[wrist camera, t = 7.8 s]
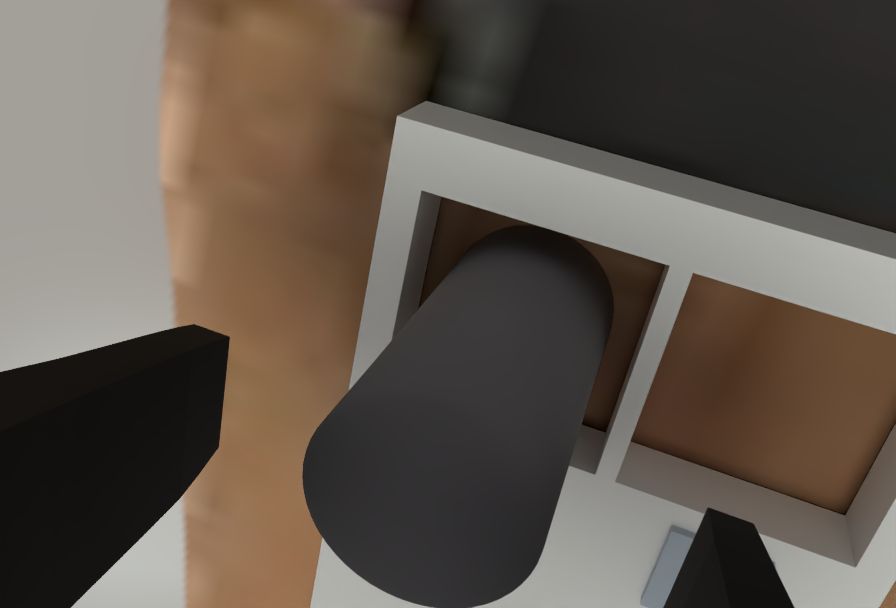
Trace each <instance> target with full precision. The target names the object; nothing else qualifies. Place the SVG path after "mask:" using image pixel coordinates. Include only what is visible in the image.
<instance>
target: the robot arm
mask: <svg viewBox="0 0 896 608" xmlns="http://www.w3.org/2000/svg"><path fill="white" fill-rule="evenodd" d="M229 340H230V337H228V336H226V335H223V334H220V333H217V332H214V331H212V330H209V329H206V328H203V327H200V326H198V325H195V324H193V325H188V326H182V327H177V328H173V329H169V330H164V331H161V332H157V333H153V334H149V335H145V336H141V337H138V338H134V339H131V340H127V341H123V342H119V343H116V344H112V345H108V346H104V347H101V348H97V349H93V350H89V351H86V352H82V353H78V354H75V355H71V356H67V357H63V358H59V359H55V360H51V361H47V362H42V363H38V364H34V365H29V366H25V367H21V368H16V369H12V370H8V371H3V372H0V608H71V607H72V606H73V605H74V604H75V603H76V601H78V599H80V598H81V597H82V596H83V595H84V594H85V593H86V592H87V590H89V589H90V588H91V586H93V585H94V584H95V583H96V582H97V581H98V580H99V579H100V578H101V577H102V576H103V575H104V574H105V573H106V572H107V571H108V570H109V569H110V568H111V567H112V566H113V565H114V564H115V563H116V562H117V561H118V560H119V559H120V558H121V557H122V556H123V555H124V554H125V553H126V552H127V551H128V550H129V549H130V548H131V547H132V546H133V545H134V544H135V543H136V542H137V541H138V540H139V539H140V538H141V537H142V536H143V535H144V534H145V533H146V532H147V531H148V530H149V529H150V528H151V527H152V526H153V525H154V524H155V523H156V522H157V521H158V520H159V519H160V518H161V517H162V516H163V515H164V514H165V513H166V512H167V511H168V510H169V509H170V508H171V507H172V506H173V505H174V504H175V503H176V502H177V501H178V500H179V499H180V498H181V496H182V495H183V494H184V493H185V491H186V490H187V489H188V487H189V486H190V485H191V484H192V482H193V481H194V480H195V479H196V477H197V476H198V475H199V473H200V472H201V471H202V469H203V468H204V467H205V465H206V464H207V462H208V461H209V460H210V458H211V457H212V456H213V454H214V453H215V452H216V450H217V449H218V447H219V440H220V430H221V420H222V410H223V400H224V390H225V380H226V370H227V360H228V350H229ZM663 608H795V607H794V605H793V603H792V601H791V599H790V597H789V595H788V593H787V591H786V589H785V587H784V585H783V583H782V581H781V579H780V577H779V575H778V573H777V570H776V568H775V566H774V564H773V562H772V560H771V558H770V556H769V554H768V552H767V549H766V547H765V545H764V543H763V541H762V539H761V537H760V535H759V533H758V531H757V529H756V527H755V525H754V523H751V522H748V521H746V520H743V519H740V518H737V517H734V516H731V515H729V514H726V513H723V512H720V511H717V510H715V509H712V508H709V507H708V508H707V510H706V512H705V515H704V517H703V519H702V521H701V524H700V526H699V528H698V530H697V533H696V535H695V537H694V539H693V542H692V544H691V546H690V548H689V551H688V553H687V555H686V557H685V560H684V562H683V564H682V566H681V569H680V571H679V573H678V575H677V578H676V580H675V582H674V585H673V587H672V589H671V591H670V594H669V596H668V598H667V600H666V603H665V605H664V607H663Z"/></svg>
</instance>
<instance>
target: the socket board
mask: <svg viewBox="0 0 896 608" xmlns="http://www.w3.org/2000/svg"><path fill="white" fill-rule="evenodd" d="M441 197H445V198H448V199H451V200H455V201H458V202H461V203H465V204H468V205H471V206H474V207H478V208H481V209H484V210H488V211H491V212H494V213H498V214H501V215H504V216H507V217H511V218H514V219H517V220H521V221H524V222H527V223H530V224H534V225H537V226H540V227H544V228H547V229H550V230H553V231H557V232H560V233H563V234H567V235H570V236H573V237H577V238H580V239H583V240H586V241H590V242H593V243H596V244H600V245H603V246H606V247H609V248H613V249H616V250H619V251H623V252H626V253H629V254H632V255H636V256H639V257H642V258H646V259H649V260H652V261H656V262H659V263H662V264H665V267H664V270H663V273H662V276H661V279H660V281H659V284H658V287H657V290H656V293H655V295H654V298H653V301H652V304H651V307H650V310H649V312H648V315H647V318H646V321H645V324H644V327H643V329H642V332H641V335H640V338H639V341H638V343H637V346H636V349H635V352H634V355H633V358H632V360H631V363H630V366H629V369H628V372H627V374H626V377H625V380H624V383H623V386H622V389H621V391H620V394H619V397H618V400H617V403H616V406H615V408H614V411H613V414H612V417H611V420H610V422H609V425H608V428H607V431H606V433H605V432H602V431H599V430H596V429H593V428H590V427H587V426H585V425H581V428H580V431H579V434H578V438H577V441H576V444H575V448H574V451H573V454H572V457H571V461H570V464H569V467H568V470H567V474H566V477H565V480H564V484H563V487H562V490H561V493H560V497H559V500H558V503H557V507H556V510H555V513H554V516H553V520H552V523H551V526H550V529H549V533H548V536H547V539H546V543H545V546H544V549H543V552H542V554H541V557H540V559H539V562H538V564H537V565H536V567H535V569H534V570H533V572H532V573H531V575H530V576H529V577H528V578H527V579H526V580H525V581H524V582H523V584H522V585H520V586H519V587H518V588H517V589H515V590H514V591H513V592H511V593H510V594H508V595H506V596H504V597H503V598H501V599H499V600H496V601H494V602H491V603H488V604H485V605H481V606H477V607H472V608H663V607H664V605H665V603H666V600H667V598H668V596H669V594H670V591H671V589H672V587H673V585H674V582H675V580H676V578H677V575H678V573H679V571H680V569H681V566H682V564H683V562H684V560H685V557H686V555H687V553H688V551H689V548H690V546H691V544H692V542H693V539H694V537H695V535H696V533H697V530H698V528H699V526H700V524H701V521H702V519H703V517H704V515H705V512H706V510H707V508H708V507H709V508H712V509H715V510H717V511H720V512H723V513H726V514H729V515H731V516H734V517H737V518H740V519H743V520H746V521H748V522H751V523H754V525H755V527H756V529H757V531H758V533H759V535H760V537H761V539H762V541H763V543H764V545H765V547H766V549H767V552H768V554H769V556H770V558H771V560H772V562H773V564H774V566H775V568H776V570H777V573H778V575H779V577H780V579H781V581H782V583H783V585H784V587H785V589H786V591H787V593H788V595H789V597H790V599H791V601H792V603H793V605H794V607H795V608H879V607H880V605H881V603H882V602H883V600H884V599H885V597H886V595H887V594H888V592H889V590H890V589H891V587H892V585H893V584H894V582H895V581H896V423H895V425H894V427H893V429H892V431H891V432H890V434H889V436H888V438H887V440H886V442H885V443H884V445H883V447H882V449H881V451H880V453H879V454H878V456H877V458H876V460H875V462H874V464H873V465H872V467H871V469H870V471H869V473H868V475H867V476H866V478H865V480H864V482H863V484H862V486H861V487H860V489H859V491H858V493H857V495H856V497H855V498H854V500H853V502H852V504H851V506H850V508H849V509H848V511H847V513H846V515H842V514H839V513H836V512H833V511H830V510H827V509H824V508H821V507H819V506H816V505H813V504H810V503H807V502H804V501H801V500H798V499H795V498H793V497H790V496H787V495H784V494H781V493H778V492H775V491H772V490H769V489H767V488H764V487H761V486H758V485H755V484H752V483H749V482H746V481H743V480H741V479H738V478H735V477H732V476H729V475H726V474H723V473H720V472H717V471H715V470H712V469H709V468H706V467H703V466H700V465H697V464H694V463H691V462H689V461H686V460H683V459H680V458H677V457H674V456H671V455H668V454H665V453H663V452H660V451H657V450H654V449H651V448H648V447H645V446H642V445H639V444H637V443H634V442H631V438H632V435H633V433H634V430H635V427H636V425H637V422H638V419H639V417H640V414H641V411H642V408H643V406H644V403H645V400H646V398H647V395H648V392H649V390H650V387H651V384H652V382H653V379H654V376H655V374H656V371H657V368H658V366H659V363H660V360H661V358H662V355H663V352H664V349H665V347H666V344H667V341H668V339H669V336H670V333H671V331H672V328H673V325H674V323H675V320H676V317H677V315H678V312H679V309H680V307H681V304H682V301H683V299H684V296H685V293H686V291H687V288H688V285H689V282H690V280H691V277H692V274H693V273H695V274H698V275H702V276H705V277H708V278H712V279H715V280H718V281H721V282H725V283H728V284H731V285H735V286H738V287H741V288H744V289H748V290H751V291H754V292H758V293H761V294H764V295H767V296H771V297H774V298H777V299H781V300H784V301H787V302H791V303H794V304H797V305H800V306H804V307H807V308H810V309H814V310H817V311H820V312H823V313H827V314H830V315H833V316H837V317H840V318H843V319H846V320H850V321H853V322H856V323H860V324H863V325H866V326H870V327H873V328H876V329H879V330H883V331H886V332H889V333H893V334H896V233H892V232H889V231H885V230H882V229H878V228H875V227H871V226H868V225H864V224H860V223H857V222H853V221H850V220H846V219H843V218H839V217H836V216H832V215H829V214H825V213H821V212H818V211H814V210H811V209H807V208H804V207H800V206H797V205H793V204H790V203H786V202H783V201H779V200H775V199H772V198H768V197H765V196H761V195H758V194H754V193H751V192H747V191H744V190H740V189H736V188H733V187H729V186H726V185H722V184H719V183H715V182H712V181H708V180H705V179H701V178H697V177H694V176H690V175H687V174H683V173H680V172H676V171H673V170H669V169H666V168H662V167H659V166H655V165H651V164H648V163H644V162H641V161H637V160H634V159H630V158H627V157H623V156H620V155H616V154H612V153H609V152H605V151H602V150H598V149H595V148H591V147H588V146H584V145H581V144H577V143H574V142H570V141H566V140H563V139H559V138H556V137H552V136H549V135H545V134H542V133H538V132H535V131H531V130H527V129H524V128H520V127H517V126H513V125H510V124H506V123H503V122H499V121H496V120H492V119H488V118H485V117H481V116H478V115H474V114H471V113H467V112H464V111H460V110H457V109H453V108H450V107H446V106H442V105H439V104H435V103H432V102H428V101H425V102H423V103H421V104H419V105H417V106H415V107H413V108H411V109H409V110H408V111H406V112H404V113H402V114H400V115H398V116H397V120H396V125H395V131H394V137H393V142H392V148H391V154H390V159H389V165H388V171H387V176H386V182H385V188H384V193H383V199H382V204H381V210H380V216H379V221H378V227H377V233H376V238H375V244H374V250H373V255H372V261H371V267H370V272H369V278H368V284H367V289H366V295H365V301H364V306H363V312H362V317H361V323H360V329H359V334H358V340H357V346H356V351H355V357H354V363H353V368H352V374H351V380H350V385H349V390H350V389H351V388H352V387H353V385H354V384H355V383H356V382H357V381H358V380H359V378H360V377H361V376H362V375H363V374H364V372H365V371H366V370H367V369H368V368H369V367H370V365H371V364H372V363H373V362H374V361H375V360H376V358H377V357H378V356H379V355H380V354H381V352H382V351H383V350H384V349H385V348H386V347H387V345H388V344H389V343H390V342H391V341H392V340H393V338H394V337H395V336H396V335H397V334H398V333H399V331H400V330H401V329H402V328H403V327H404V325H405V324H406V323H407V322H408V321H409V320H410V318H411V317H412V316H413V315H414V314H415V313H416V311H417V310H418V306H419V302H420V297H421V292H422V287H423V283H424V278H425V273H426V269H427V264H428V259H429V254H430V250H431V245H432V240H433V235H434V231H435V226H436V221H437V216H438V212H439V207H440V202H441ZM310 608H434V607H427V606H423V605H418V604H414V603H411V602H408V601H405V600H402V599H399V598H397V597H394V596H392V595H390V594H388V593H386V592H384V591H382V590H380V589H378V588H377V587H375V586H373V585H371V584H370V583H368V582H367V581H365V580H364V579H363V578H361V577H360V576H358V575H357V574H356V573H355V572H353V571H352V570H351V569H350V568H349V567H348V566H346V565H345V564H344V563H343V562H342V561H341V560H340V558H339V557H338V556H337V555H336V554H335V553H334V552H333V551H332V549H331V548H330V547H329V546H328V544H327V543H326V542H325V540H324V539H323V538H322V543H321V549H320V555H319V560H318V566H317V572H316V577H315V583H314V589H313V594H312V600H311V606H310Z"/></svg>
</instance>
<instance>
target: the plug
mask: <svg viewBox="0 0 896 608" xmlns="http://www.w3.org/2000/svg"><path fill="white" fill-rule="evenodd" d="M613 313H614V304H613V296H612V291H611V287H610V284H609V281H608V279H607V277H606V275H605V273H604V271H603V269H602V267H601V266H600V264H599V263H598V262H597V260H596V259H595V258H594V257H593V256H592V255H591V253H590V252H589V251H588V250H586V249H585V248H584V247H583V246H582V245H581V244H579V243H578V242H576V241H575V240H573V239H572V238H570V237H568V236H566V235H564V234H562V233H560V232H557V231H553V230H550V229H547V228H543V227H538V226H514V227H508V228H504V229H501V230H497V231H495V232H493V233H491V234H489V235H487V236H485V237H484V238H482V239H480V240H479V241H478V242H477V243H475V244H474V245H473V246H472V247H471V248H470V249H469V250H468V251H467V253H466V254H465V255H464V256H463V257H462V258H461V260H460V261H459V262H458V263H457V264H456V265H455V267H454V268H453V269H452V270H451V271H450V273H449V274H448V275H447V276H446V277H445V278H444V280H443V281H442V282H441V283H440V284H439V285H438V287H437V288H436V289H435V290H434V291H433V293H432V294H431V295H430V296H429V297H428V298H427V300H426V301H425V302H424V303H423V304H422V305H421V307H420V308H419V309H418V310H417V311H416V313H415V314H414V315H413V316H412V317H411V318H410V320H409V321H408V322H407V323H406V324H405V325H404V327H403V328H402V329H401V330H400V331H399V333H398V334H397V335H396V336H395V337H394V338H393V340H392V341H391V342H390V343H389V344H388V345H387V347H386V348H385V349H384V350H383V351H382V352H381V354H380V355H379V356H378V357H377V358H376V360H375V361H374V362H373V363H372V364H371V365H370V367H369V368H368V369H367V370H366V371H365V372H364V374H363V375H362V376H361V377H360V378H359V380H358V381H357V382H356V383H355V384H354V385H353V387H352V388H351V389H350V390H349V391H348V392H347V394H346V395H345V396H344V397H343V398H342V400H341V401H340V402H339V403H338V404H337V405H336V407H335V408H334V409H333V410H332V411H331V412H330V414H329V415H328V416H327V417H326V418H325V420H324V421H323V422H322V423H321V424H320V425H319V427H318V428H317V429H316V431H315V433H314V434H313V436H312V438H311V440H310V442H309V445H308V447H307V450H306V454H305V458H304V463H303V488H304V494H305V498H306V503H307V506H308V509H309V511H310V514H311V517H312V519H313V521H314V523H315V525H316V527H317V529H318V531H319V532H320V534H321V535H322V537H323V539H324V540H325V542H326V543H327V544H328V546H329V547H330V548H331V549H332V551H333V552H334V553H335V554H336V555H337V556H338V557H339V558H340V560H341V561H342V562H343V563H344V564H345V565H346V566H348V567H349V568H350V569H351V570H352V571H353V572H355V573H356V574H357V575H358V576H360V577H361V578H363V579H364V580H365V581H367V582H368V583H370V584H371V585H373V586H375V587H377V588H378V589H380V590H382V591H384V592H386V593H388V594H390V595H392V596H394V597H397V598H399V599H402V600H405V601H408V602H411V603H414V604H418V605H423V606H427V607H434V608H472V607H477V606H481V605H485V604H488V603H491V602H494V601H496V600H499V599H501V598H503V597H504V596H506V595H508V594H510V593H511V592H513V591H514V590H515V589H517V588H518V587H519V586H520V585H522V584H523V582H524V581H525V580H526V579H527V578H528V577H529V576H530V575H531V573H532V572H533V570H534V569H535V567H536V565H537V564H538V562H539V559H540V557H541V554H542V552H543V549H544V546H545V543H546V539H547V536H548V533H549V529H550V526H551V523H552V520H553V516H554V513H555V510H556V507H557V503H558V500H559V497H560V493H561V490H562V487H563V484H564V480H565V477H566V474H567V470H568V467H569V464H570V461H571V457H572V454H573V451H574V448H575V444H576V441H577V438H578V434H579V431H580V428H581V425H582V421H583V418H584V415H585V412H586V408H587V405H588V402H589V398H590V395H591V392H592V389H593V385H594V382H595V379H596V376H597V372H598V369H599V366H600V362H601V359H602V356H603V353H604V349H605V346H606V343H607V340H608V336H609V333H610V330H611V326H612V321H613Z"/></svg>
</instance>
